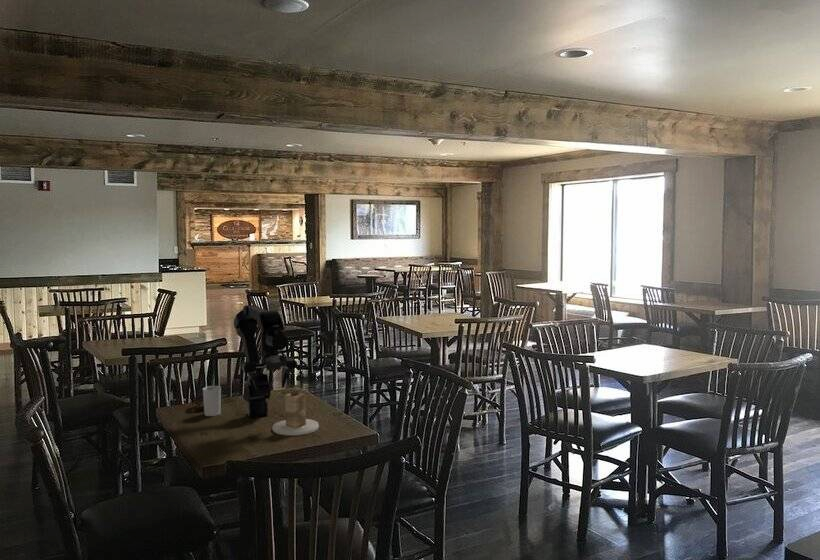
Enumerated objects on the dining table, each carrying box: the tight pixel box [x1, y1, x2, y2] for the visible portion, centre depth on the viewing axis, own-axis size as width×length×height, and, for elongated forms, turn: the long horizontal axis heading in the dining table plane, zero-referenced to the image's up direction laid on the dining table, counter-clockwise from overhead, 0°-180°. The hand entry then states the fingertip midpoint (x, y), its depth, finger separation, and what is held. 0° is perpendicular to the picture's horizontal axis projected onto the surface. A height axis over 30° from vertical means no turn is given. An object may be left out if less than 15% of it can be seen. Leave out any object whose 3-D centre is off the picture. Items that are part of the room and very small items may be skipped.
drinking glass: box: [202, 385, 222, 417], centre depth 243 cm, size 7×7×10 cm
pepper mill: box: [284, 387, 307, 428], centre depth 225 cm, size 5×5×13 cm
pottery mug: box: [193, 391, 223, 407], centre depth 254 cm, size 12×10×8 cm
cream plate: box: [272, 418, 320, 437], centre depth 225 cm, size 16×16×1 cm
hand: (270, 389), depth 229 cm, fingers open, 9 cm apart
